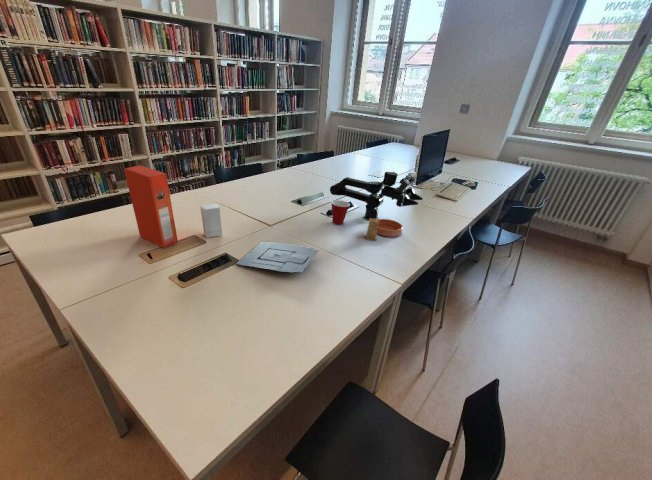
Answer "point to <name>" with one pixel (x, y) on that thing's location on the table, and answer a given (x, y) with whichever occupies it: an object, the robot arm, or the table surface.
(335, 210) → the plastic cup
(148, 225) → the file binder
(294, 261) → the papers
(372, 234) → the ochre block
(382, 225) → the bowl
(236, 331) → the table surface
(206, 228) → the cosmetic box
